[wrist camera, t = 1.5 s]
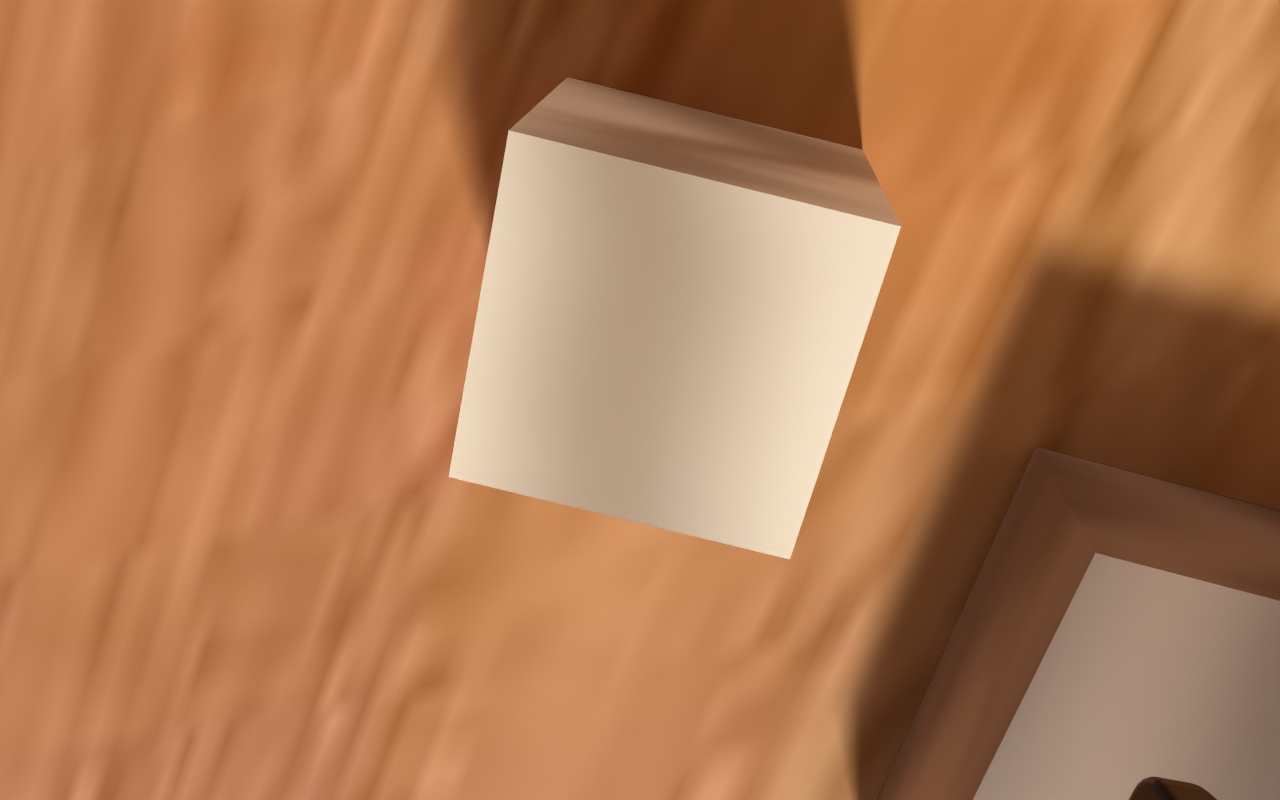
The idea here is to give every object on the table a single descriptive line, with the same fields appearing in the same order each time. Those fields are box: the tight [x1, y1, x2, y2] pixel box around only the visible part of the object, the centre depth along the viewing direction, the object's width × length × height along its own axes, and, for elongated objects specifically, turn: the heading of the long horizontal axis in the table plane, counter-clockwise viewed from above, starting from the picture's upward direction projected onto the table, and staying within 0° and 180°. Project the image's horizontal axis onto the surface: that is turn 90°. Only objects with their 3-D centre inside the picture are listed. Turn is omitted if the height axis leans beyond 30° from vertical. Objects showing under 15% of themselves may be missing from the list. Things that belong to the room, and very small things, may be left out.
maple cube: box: [449, 77, 901, 559], centre depth 17 cm, size 5×5×5 cm
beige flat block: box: [877, 447, 1280, 800], centre depth 21 cm, size 10×10×4 cm
